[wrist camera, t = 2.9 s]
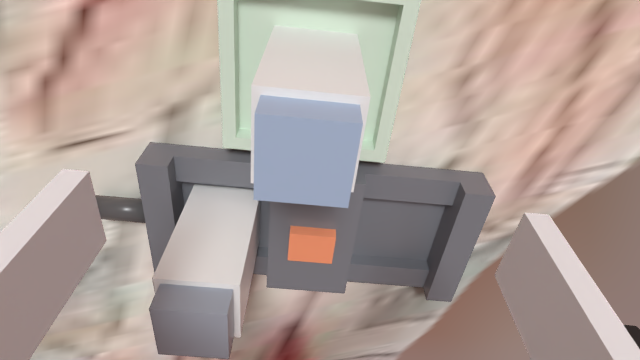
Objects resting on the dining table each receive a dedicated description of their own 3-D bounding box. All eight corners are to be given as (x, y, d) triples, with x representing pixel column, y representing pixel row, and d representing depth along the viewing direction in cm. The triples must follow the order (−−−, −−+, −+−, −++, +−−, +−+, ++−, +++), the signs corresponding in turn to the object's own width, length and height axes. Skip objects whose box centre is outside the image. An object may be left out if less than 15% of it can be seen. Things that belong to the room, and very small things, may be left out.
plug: (274, 25, 23) (244, 103, 14) (357, 33, 23) (374, 115, 15) (271, 102, 25) (244, 205, 17) (346, 109, 25) (355, 215, 17)
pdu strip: (86, 136, 27) (59, 165, 24) (482, 172, 28) (500, 204, 25) (114, 249, 33) (94, 282, 30) (443, 275, 34) (453, 310, 31)
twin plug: (194, 184, 29) (140, 303, 20) (260, 189, 29) (234, 310, 21) (198, 233, 31) (152, 357, 23) (259, 238, 31) (235, 363, 23)
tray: (222, -39, 21) (215, -34, 20) (418, -17, 22) (423, -11, 20) (227, 135, 27) (222, 147, 26) (382, 150, 27) (385, 162, 26)
